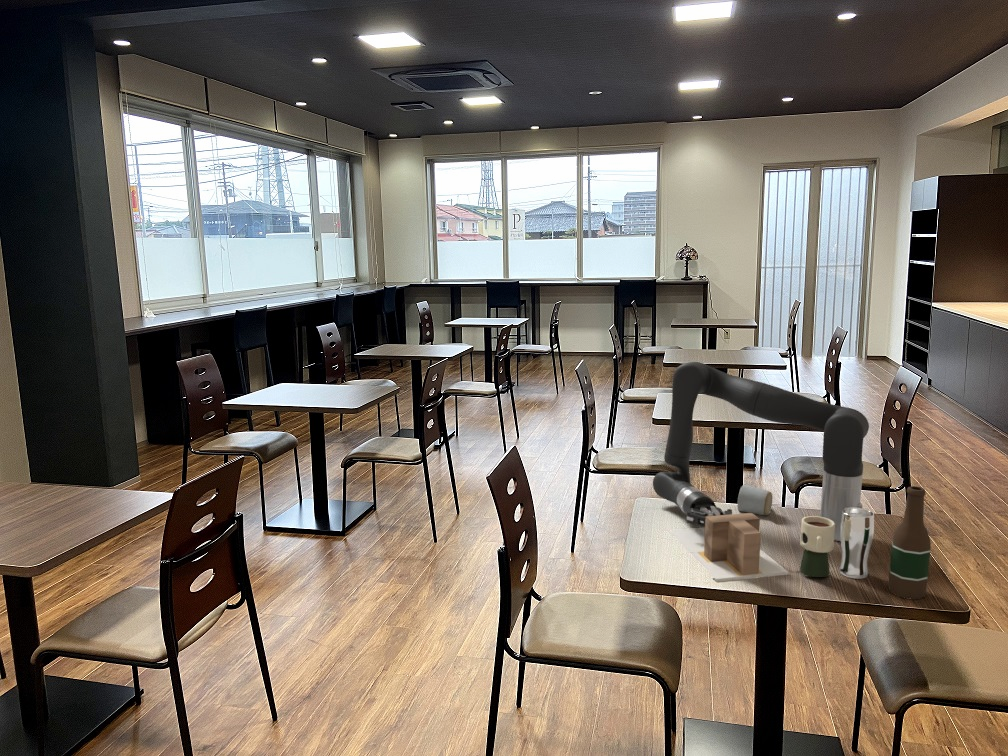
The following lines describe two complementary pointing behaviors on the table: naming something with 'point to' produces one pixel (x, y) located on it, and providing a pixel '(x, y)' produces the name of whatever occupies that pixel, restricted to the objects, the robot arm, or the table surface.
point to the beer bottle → (910, 550)
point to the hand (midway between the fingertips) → (724, 528)
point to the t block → (734, 541)
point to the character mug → (816, 545)
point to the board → (722, 569)
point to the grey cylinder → (754, 500)
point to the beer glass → (856, 541)
